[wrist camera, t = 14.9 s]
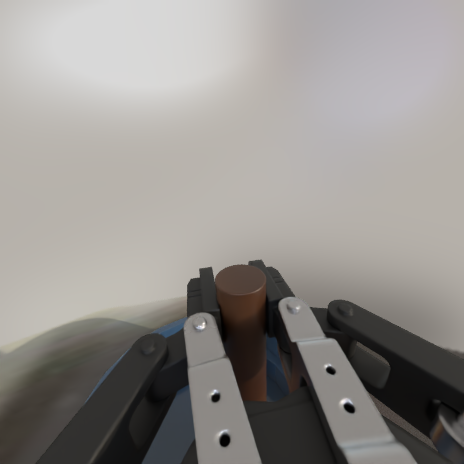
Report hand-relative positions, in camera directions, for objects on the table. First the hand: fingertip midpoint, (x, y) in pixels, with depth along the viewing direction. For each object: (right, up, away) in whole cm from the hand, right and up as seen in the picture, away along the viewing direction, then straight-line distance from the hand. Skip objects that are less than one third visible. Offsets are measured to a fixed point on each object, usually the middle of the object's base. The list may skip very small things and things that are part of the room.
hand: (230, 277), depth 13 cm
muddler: (+1, -13, +3) cm, 13 cm away
